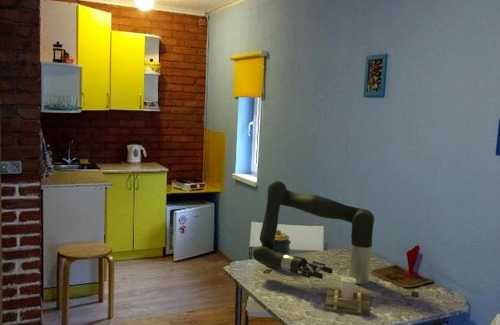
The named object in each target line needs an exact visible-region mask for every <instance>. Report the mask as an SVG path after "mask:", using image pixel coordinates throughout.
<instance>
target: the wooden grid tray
mask: <svg viewBox="0 0 500 325" xmlns="http://www.w3.org/2000/svg"><path fill="white" fill-rule="evenodd" d="M369 296H370V293H369V292H364V291H362V290H361V289H360V288H357V291H355V290H354V292H353V297H352V299H344V298H342V290H341V288H340V289H339V286H338V285H336V286H334V287H333V288H331V287H327V288H326V296H325V306H324V311H326V312H327V311H328V312H336V313H344V314H351V315H357V316H363V317H364V316H366V317H370V303H371V302H370V301H369V299H370V298H369Z"/></svg>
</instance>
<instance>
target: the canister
mask: <svg viewBox="0 0 500 325" xmlns="http://www.w3.org/2000/svg"><path fill="white" fill-rule="evenodd" d="M290 244H291V240H290V236H289V235H288V234H286V233H284V232H281V230H280V229H277V231H276V236H275V240H274V251H277V252H281V253H285V254H290V255H291V248H290ZM265 266H266V267H269V268H273V269H277V268H276V267H274V266H272V265H270V264H269V265H265Z"/></svg>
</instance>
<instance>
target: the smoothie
mask: <svg viewBox="0 0 500 325" xmlns="http://www.w3.org/2000/svg"><path fill="white" fill-rule="evenodd" d="M340 285H341V288H340V289H341V290H342V298H344V299H352V297H353V292H354V291H355V287H356V285H357V284H356V279H355V278H352V277H349V268H347V271H346V276H341V277H340Z"/></svg>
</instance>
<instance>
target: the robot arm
mask: <svg viewBox="0 0 500 325" xmlns="http://www.w3.org/2000/svg"><path fill="white" fill-rule="evenodd" d="M266 200H267V201H266V208H265V213H264V217H263V223H262V225H261V228H260V233H259V241H260V243H261V246H257V247H255V248H254V249H253V250H252V256H253V259H254V260H255V261H256V262H257V263H259V264H261V265H263V266H266V265H269V264H270V265H272V266H274V267H276V268H275V269H280V270H282V271H286V273H287V272H288V273H291V274H294V275H298V276H301V277H304V278H307V279H311V278H317V279H320V280H321V279H322V280H323V277H324V274H323V273H322V272H324V273H327V274H333V270H334V269H333V268H332V267H329V266H326V263H323V262H319V261H315V260H314V261H312V262H308V261H307V259H306V258H305V257H301V256H299V255H298V256H297V255H295V254H291V253H290V254H285V253H281V252H277V251H274V240H275V236H276V231H277V230H278V221H279V213H280V208H281V206H285V207H290V208H293V209H297V210H300V211H301V212H305V213H309V214H311V215H313V216H317V217H320V218H323V219H331V220H339V221H340V220H341V221H345V222H347V223H350V224H351V235H350V239H351V242H350V243H351V244H350V252H349V253H350V256H349V266H348V267H349V273H348V277H352V278H355V279H356V284H355V285H367V284H369V282H370V273H371V260H372V259H371V258H372V248H373V231H374V223H375V215H374V214H373V212H372V211H370V210H368V209H366V208H360V207H356V206H355V207H354V206H351V205H346V204H344V203H341V202H338V201H336V200H332V199H330V198H328V197H324V196H321V195H318V194H301V193H296V192H294V191H291V190H289V189H287V186H286V184H284V182H282V181H280V180H275V181H272V182H271V183H270V184H269V185H268V187H267V197H266Z"/></svg>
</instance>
